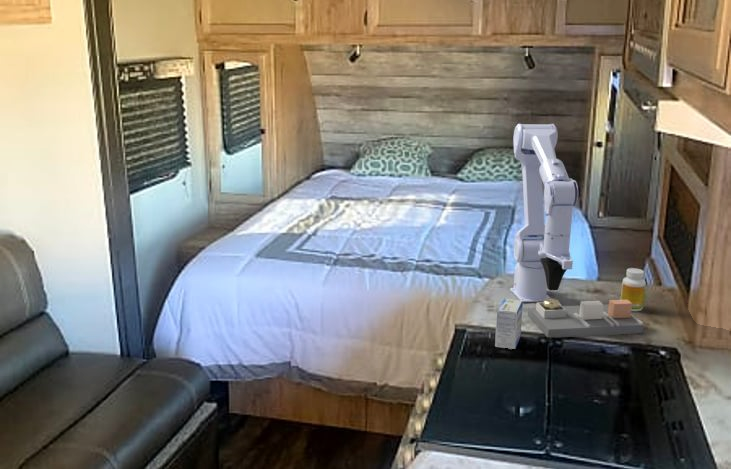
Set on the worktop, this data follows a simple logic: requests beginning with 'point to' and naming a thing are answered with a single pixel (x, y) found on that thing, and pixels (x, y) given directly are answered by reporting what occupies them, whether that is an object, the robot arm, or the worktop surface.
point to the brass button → (551, 304)
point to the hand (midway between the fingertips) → (552, 289)
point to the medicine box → (508, 324)
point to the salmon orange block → (620, 308)
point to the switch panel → (580, 322)
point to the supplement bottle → (634, 288)
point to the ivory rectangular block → (591, 310)
